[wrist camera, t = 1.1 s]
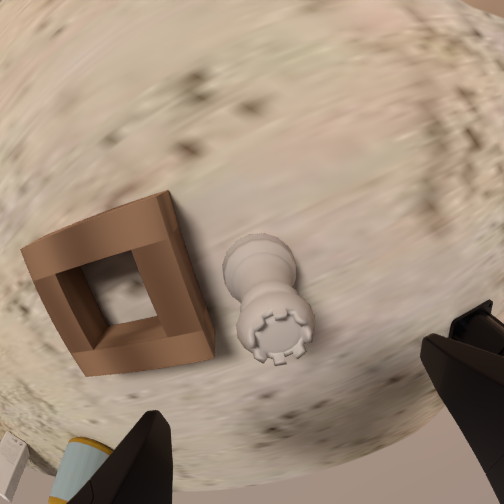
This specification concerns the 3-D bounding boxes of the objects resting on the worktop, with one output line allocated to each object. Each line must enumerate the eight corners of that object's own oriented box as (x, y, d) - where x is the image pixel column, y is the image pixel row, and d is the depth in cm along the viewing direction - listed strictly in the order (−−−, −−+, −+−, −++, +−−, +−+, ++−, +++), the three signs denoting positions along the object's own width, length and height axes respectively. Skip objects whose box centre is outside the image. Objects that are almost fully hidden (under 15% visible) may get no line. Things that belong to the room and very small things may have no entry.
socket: (168, 189, 16) (156, 196, 13) (215, 331, 19) (214, 358, 16) (44, 236, 16) (20, 249, 13) (98, 352, 19) (85, 376, 16)
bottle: (108, 468, 26) (91, 554, 11) (64, 442, 24) (35, 529, 9) (130, 457, 24) (113, 559, 10) (80, 428, 22) (46, 532, 8)
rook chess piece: (305, 269, 18) (354, 341, 11) (251, 309, 19) (266, 396, 11) (265, 216, 17) (297, 263, 9) (207, 260, 18) (196, 335, 10)
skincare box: (6, 429, 23) (-19, 479, 12) (27, 443, 24) (5, 496, 13) (11, 443, 25) (-10, 489, 13) (30, 455, 26) (12, 503, 14)
